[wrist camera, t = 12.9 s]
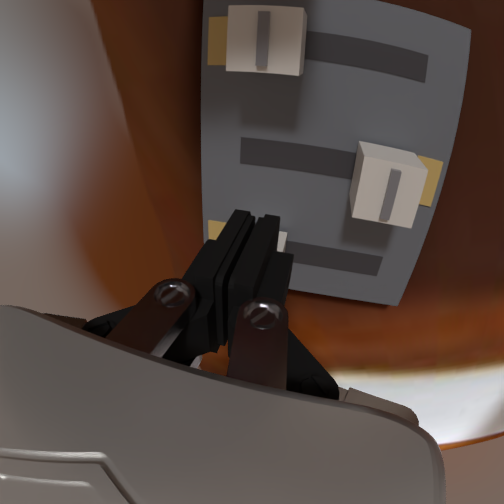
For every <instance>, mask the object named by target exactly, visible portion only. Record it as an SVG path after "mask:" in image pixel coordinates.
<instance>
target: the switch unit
mask: <svg viewBox="0 0 504 504" xmlns="http://www.w3.org/2000/svg"><path fill="white" fill-rule="evenodd" d="M229 5H268V6H288V7H301V8H304V10H305V12H306V14H307V29H306V43H305V57H304V69H303V74H301V75H299V76H295V75H286V74H274V73H260V72H241V71H226V53H227V28H228V7H229ZM470 38H471V30H470V29H468V28H465V27H463V26H460V25H457V24H455V23H452V22H449V21H447V20H444V19H441V18H438V17H435V16H432V15H429V14H425V13H422V12H419V11H415V10H412V9H408V8H405V7H401V6H397V5H393V4H389V3H385V2H380V1H376V0H204V2H203V26H202V60H201V166H202V204H203V231H204V244H205V242H206V241H207V240H208V239H213V240H216V239H217V237H218V236H219V234H220V233H221V231H222V229H223V228H224V226H225V225H226V223H227V221H228V220H229V218H230V217H231V215H232V213H233V212H234V210H235V209H238V210H245V211H250V212H251V215H252V216H255V218H256V220H255V224H256V222H257V220H258V218H259V217H264V216H265V214H270V215H276V216H280V228H279V231H281V232H287V240H286V248H285V253H290V254H294V259H293V266H292V272H291V278H290V283H289V288H288V289H293V290H299V291H305V292H311V293H317V294H323V295H329V296H335V297H341V298H348V299H354V300H360V301H367V302H373V303H380V304H387V305H394V306H398V304H399V301H400V299H401V297H402V295H403V292H404V290H405V288H406V285H407V283H408V281H409V278H410V276H411V273H412V271H413V269H414V266H415V264H416V261H417V258H418V256H419V253H420V251H421V248H422V245H423V243H424V240H425V237H426V234H427V232H428V229H429V226H430V223H431V220H432V217H433V214H434V211H435V208H436V205H437V202H438V198H439V195H440V192H441V188H442V185H443V182H444V178H445V174H446V171H447V167H448V163H449V160H450V156H451V152H452V148H453V143H454V139H455V135H456V130H457V125H458V121H459V116H460V111H461V105H462V100H463V94H464V88H465V81H466V74H467V67H468V58H469V49H470ZM359 141H363V142H368V143H373V144H378V145H382V146H387V147H392V148H396V149H400V150H405V151H409V152H413V153H415V154H416V155H417V157H418V158H419V159H420V160H421V162H422V163H423V164H424V165H425V167H426V168H427V169H428V173H427V177H426V181H425V185H424V188H423V192H422V195H421V199H420V202H419V205H418V209H417V212H416V215H415V218H414V221H413V225H412V228H406V227H401V226H396V225H391V224H386V223H381V222H375V221H370V220H364V219H359V218H353V217H352V214H351V205H350V197H349V193H350V187H351V182H352V177H353V172H354V166H355V161H356V155H357V149H358V143H359Z"/></svg>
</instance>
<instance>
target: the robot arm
mask: <svg viewBox="0 0 504 504" xmlns="http://www.w3.org/2000/svg"><path fill="white" fill-rule="evenodd" d="M255 220H256V218H255V216H252V215H251V212H250V211H245V210H238V209H235V210H234V212H233V213H232V215H231V217H230V218H229V220H228V221H227V223H226V225H225V226H224V228H223V229H222V231H221V233H220V234H219V236H218V237H217V239H216V240H213V239H208V240H207V241H206V242H205V244H204V245H203V247H202V248H201V250H200V251H199V253H198V254H197V256H196V257H195V259H194V261H193V262H192V264H191V265H190V267H189V268H188V270H187V271H186V273H185V275H184V276H183V278H182V279H178V278H171V279H166V280H163V281H161V282H158V283H157V284H156V285H154V286H153V287H152V288H151V289H150V290H149V291H148V293H147V294H146V295H145V296H144V297H143V298H142V299H141V300H140V301H139V302H138V303H137V304H136V305H134V306H131V307H128V308H125V309H122V310H119V311H115V312H112V313H109V314H106V315H103V316H100V317H97V318H94V319H92V320H90V321H89V322H87V321H86V319H82V318H75V317H68V316H60V315H55V314H48V313H40V312H37V311H34V310H31V309H27V308H24V307H19V306H12V305H0V504H446V480H445V469H444V463H443V458H442V454H441V451H440V448H439V446H438V444H437V442H436V441H435V439H434V438H433V437H432V436H431V435H430V434H429V433H428V432H426V431H425V430H424V429H422V428H421V427H419V421H418V418H417V416H416V414H415V413H414V412H413V411H412V410H411V409H410V408H408V407H406V406H403V405H400V404H397V403H394V402H391V401H388V400H385V399H382V398H379V397H376V396H373V395H370V394H367V393H364V392H362V391H359V390H356V389H353V388H349V390H346V389H343V388H341V387H338V385H337V383H336V382H335V380H334V379H333V378H332V377H331V376H330V374H329V373H328V372H327V371H326V370H325V369H324V368H323V367H322V366H321V364H320V363H319V362H318V361H317V360H316V359H315V358H314V357H313V355H312V354H311V353H310V352H309V351H308V350H307V349H306V348H305V347H304V345H303V344H302V343H301V342H300V341H299V340H298V339H297V338H296V336H295V335H294V334H293V333H292V332H291V331H290V330H289V328H288V312H287V310H286V308H285V307H284V305H285V301H286V297H287V292H288V288H289V283H290V278H291V272H292V266H293V259H294V254H290V253H285V252H279V251H277V247H278V237H279V228H280V216H276V215H270V214H265V216H264V217H259V218H258V220H257V222H256V224H255ZM227 340H228V357H229V358H230V360H229V365H228V371H227V377H225V376H222V375H218V374H214V373H211V372H207V371H203V370H199V369H196V368H197V367H198V365H199V364H200V362H201V359H202V354H205V353H208V352H210V351H211V352H214V353H217V351H218V349H219V346H220V345H223V346H225V345H226V342H227Z"/></svg>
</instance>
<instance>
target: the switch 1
mask: <svg viewBox="0 0 504 504" xmlns="http://www.w3.org/2000/svg"><path fill="white" fill-rule="evenodd" d="M306 29H307V14H306V12H305V10H304V8H301V7H288V6H268V5H229V7H228V28H227V53H226V71H241V72H260V73H274V74H286V75H295V76H299V75H301V74H303V69H304V57H305V43H306Z"/></svg>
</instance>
